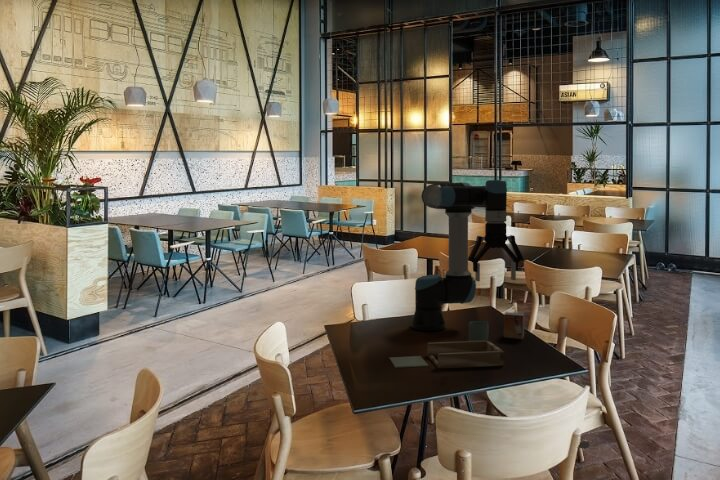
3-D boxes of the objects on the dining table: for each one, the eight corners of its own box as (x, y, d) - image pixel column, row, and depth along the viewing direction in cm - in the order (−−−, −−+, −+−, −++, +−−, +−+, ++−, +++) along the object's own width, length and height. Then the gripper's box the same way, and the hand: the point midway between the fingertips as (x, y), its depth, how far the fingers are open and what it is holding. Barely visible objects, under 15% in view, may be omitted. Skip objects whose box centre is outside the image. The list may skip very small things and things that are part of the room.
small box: (503, 338, 252) (503, 314, 251) (505, 335, 257) (505, 311, 256) (522, 340, 249) (523, 315, 248) (524, 337, 254) (524, 312, 253)
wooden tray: (427, 355, 226) (427, 342, 226) (488, 352, 229) (488, 340, 229) (438, 368, 209) (438, 354, 209) (504, 365, 212) (504, 351, 212)
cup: (488, 350, 233) (488, 325, 232) (468, 349, 234) (468, 324, 234) (488, 345, 240) (488, 321, 240) (468, 344, 242) (468, 320, 241)
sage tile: (389, 358, 223) (389, 357, 223) (420, 357, 224) (420, 356, 224) (395, 367, 211) (395, 366, 211) (428, 366, 213) (428, 365, 213)
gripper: (465, 223, 210) (465, 282, 212) (532, 222, 213) (532, 280, 215) (459, 222, 218) (459, 279, 219) (524, 221, 221) (524, 277, 222)
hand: (495, 280), depth 217 cm, fingers open, 13 cm apart
